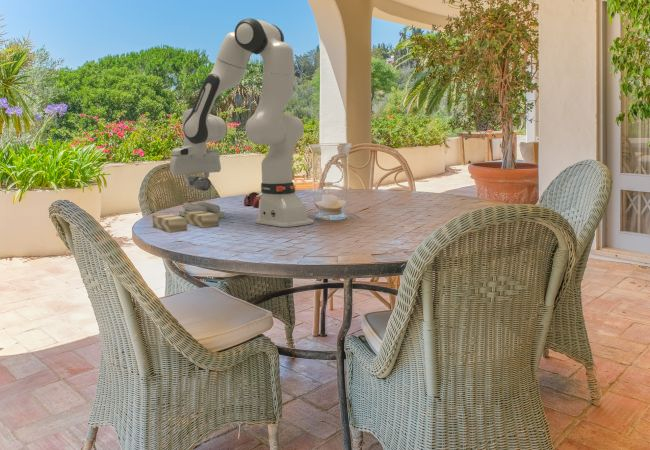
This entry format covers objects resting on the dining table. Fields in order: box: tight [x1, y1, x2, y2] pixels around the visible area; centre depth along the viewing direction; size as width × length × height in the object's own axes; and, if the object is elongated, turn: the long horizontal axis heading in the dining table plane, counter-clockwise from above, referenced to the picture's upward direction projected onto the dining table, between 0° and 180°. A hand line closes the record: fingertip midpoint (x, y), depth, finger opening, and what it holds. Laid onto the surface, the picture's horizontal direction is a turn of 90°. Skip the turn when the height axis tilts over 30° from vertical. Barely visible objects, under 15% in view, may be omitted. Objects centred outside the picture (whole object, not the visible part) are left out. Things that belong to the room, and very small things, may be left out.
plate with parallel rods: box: [178, 200, 225, 219], centre depth 224 cm, size 16×12×5 cm
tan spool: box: [151, 210, 220, 233], centre depth 203 cm, size 16×18×4 cm
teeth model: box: [243, 191, 262, 209], centre depth 251 cm, size 8×6×12 cm
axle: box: [185, 175, 212, 192], centre depth 223 cm, size 12×5×5 cm, turn 37°
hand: (196, 185), depth 224 cm, fingers closed on axle, 5 cm apart
